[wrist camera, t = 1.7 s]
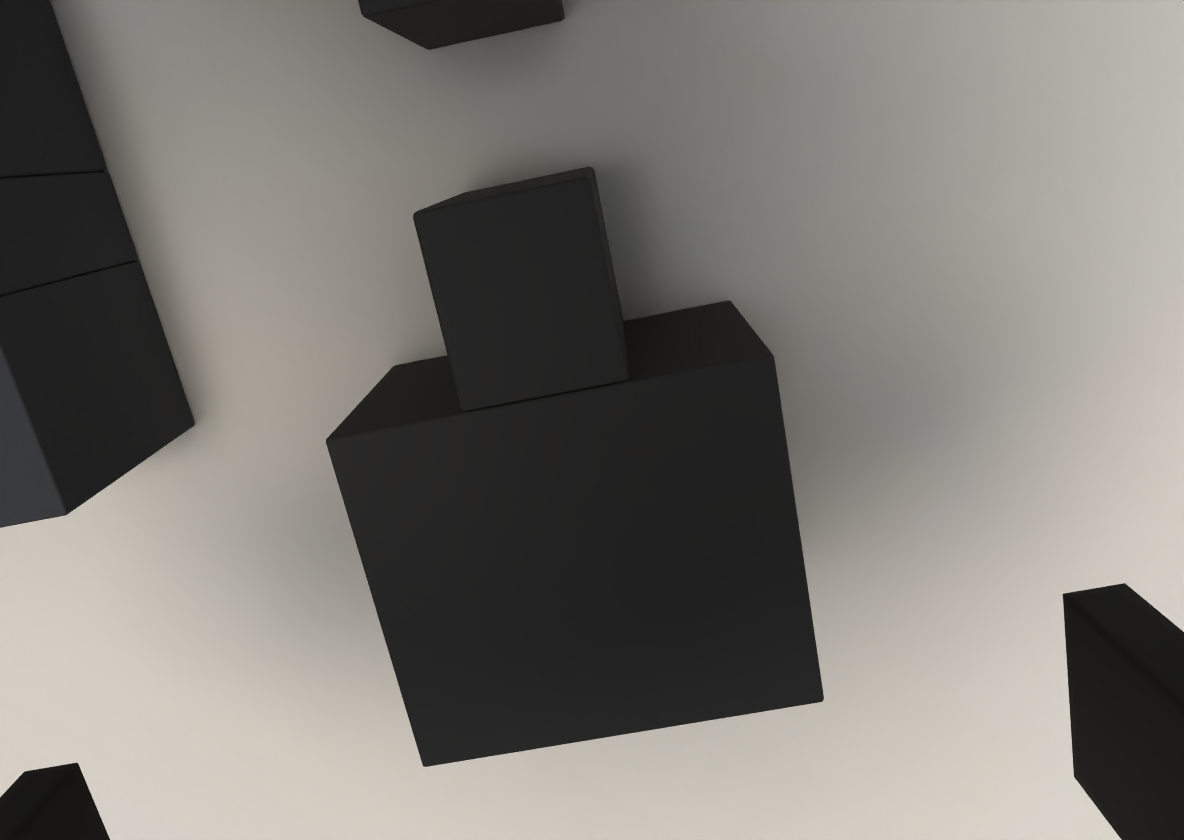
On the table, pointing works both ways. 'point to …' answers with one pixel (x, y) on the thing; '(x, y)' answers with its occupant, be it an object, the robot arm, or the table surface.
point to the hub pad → (68, 295)
